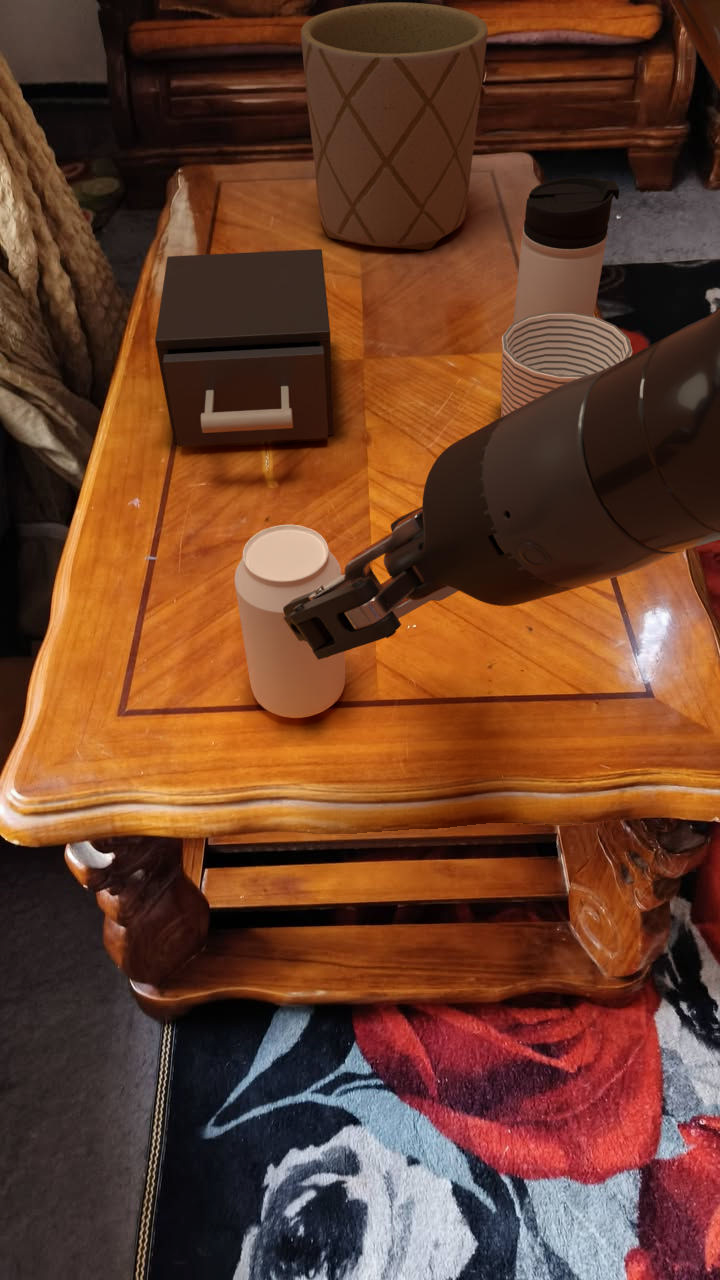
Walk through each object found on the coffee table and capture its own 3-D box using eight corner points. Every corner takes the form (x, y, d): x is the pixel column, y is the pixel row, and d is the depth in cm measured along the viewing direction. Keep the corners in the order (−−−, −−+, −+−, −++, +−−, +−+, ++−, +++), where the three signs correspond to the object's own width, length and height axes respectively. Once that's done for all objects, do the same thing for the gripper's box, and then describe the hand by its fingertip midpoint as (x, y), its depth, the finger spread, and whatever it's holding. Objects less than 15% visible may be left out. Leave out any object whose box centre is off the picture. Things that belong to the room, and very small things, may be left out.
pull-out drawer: (331, 473, 77) (327, 387, 72) (175, 482, 77) (158, 396, 71) (321, 354, 90) (316, 273, 84) (187, 361, 90) (173, 281, 84)
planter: (450, 269, 104) (461, 62, 89) (287, 247, 108) (272, 46, 94) (490, 200, 116) (506, 8, 102) (342, 182, 120) (337, -4, 106)
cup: (575, 486, 77) (608, 306, 66) (609, 555, 71) (651, 370, 60) (472, 497, 76) (488, 316, 65) (498, 568, 71) (520, 383, 59)
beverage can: (339, 730, 60) (331, 593, 52) (243, 721, 61) (219, 584, 52) (351, 658, 65) (347, 520, 56) (261, 651, 65) (243, 513, 57)
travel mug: (583, 441, 81) (627, 202, 67) (506, 442, 82) (532, 203, 67) (573, 401, 86) (612, 168, 71) (499, 401, 86) (523, 169, 71)
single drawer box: (334, 435, 83) (330, 331, 76) (174, 444, 82) (154, 340, 75) (326, 347, 93) (321, 248, 86) (183, 355, 92) (167, 256, 85)
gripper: (610, 338, 41) (398, 458, 54) (396, 499, 33) (213, 591, 47) (695, 487, 42) (467, 568, 56) (508, 674, 35) (299, 714, 48)
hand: (351, 578), depth 51 cm, fingers open, 8 cm apart
